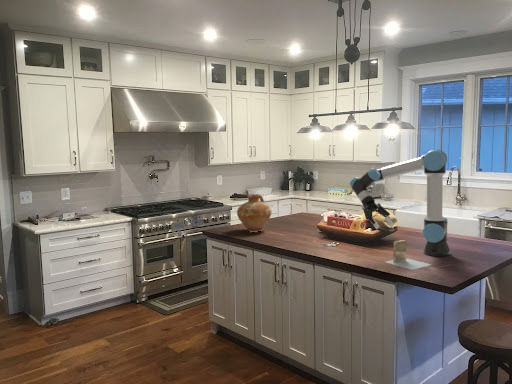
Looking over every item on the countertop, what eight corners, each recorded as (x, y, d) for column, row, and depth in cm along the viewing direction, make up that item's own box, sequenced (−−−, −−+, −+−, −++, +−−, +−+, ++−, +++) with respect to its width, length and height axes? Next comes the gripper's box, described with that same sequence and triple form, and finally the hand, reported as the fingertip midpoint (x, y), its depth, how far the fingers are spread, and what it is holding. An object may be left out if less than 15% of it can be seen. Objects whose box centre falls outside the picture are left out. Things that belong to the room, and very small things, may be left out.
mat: (383, 262, 261) (383, 261, 261) (403, 258, 270) (403, 257, 270) (411, 270, 244) (411, 269, 244) (431, 265, 253) (432, 264, 253)
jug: (230, 232, 361) (229, 195, 358) (251, 226, 383) (250, 192, 380) (258, 236, 344) (257, 197, 341) (278, 230, 366) (278, 193, 363)
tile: (393, 261, 260) (393, 241, 259) (402, 259, 265) (402, 239, 263) (396, 262, 258) (397, 242, 257) (406, 260, 262) (406, 240, 261)
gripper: (376, 201, 289) (395, 228, 278) (349, 204, 276) (367, 232, 265) (382, 193, 284) (402, 220, 273) (355, 196, 271) (374, 225, 260)
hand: (385, 226), depth 269 cm, fingers open, 12 cm apart
